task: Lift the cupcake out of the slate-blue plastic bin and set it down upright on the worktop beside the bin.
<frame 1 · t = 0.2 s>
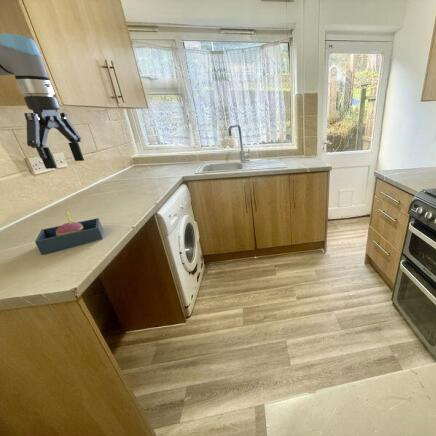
hand: (66, 164, 85), 31 cm above the countertop, tool pointing down, fingers open, 13 cm apart
cupcake: (74, 239, 99), resting on bin
bin: (75, 240, 99), on the countertop
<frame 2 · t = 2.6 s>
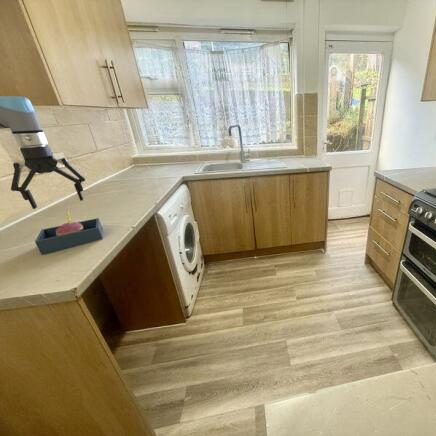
hand: (59, 203, 93), 16 cm above the countertop, tool pointing down, fingers open, 13 cm apart
nothing on the countertop moved.
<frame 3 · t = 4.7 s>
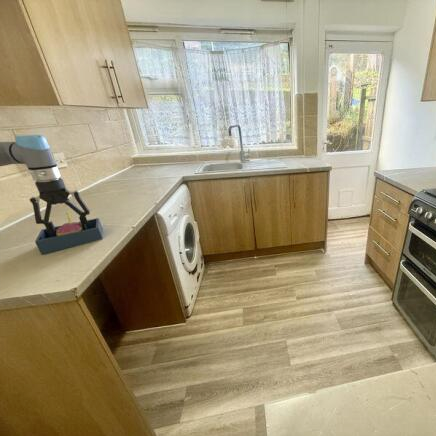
hand: (71, 234, 98), 3 cm above the countertop, tool pointing down, fingers closed on cupcake, 8 cm apart
cupcake: (75, 239, 99), resting on bin, touching gripper
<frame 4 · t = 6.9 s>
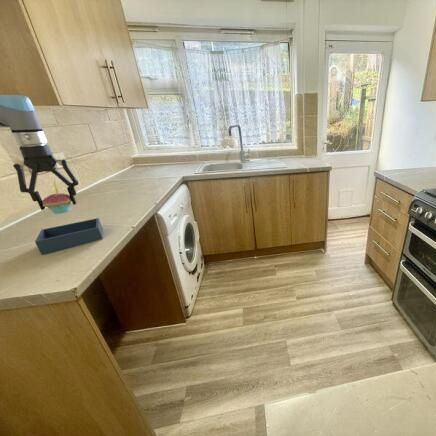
hand: (59, 206, 93), 15 cm above the countertop, tool pointing down, fingers closed on cupcake, 8 cm apart
cupcake: (62, 212, 94), point 13 cm above the countertop, touching gripper
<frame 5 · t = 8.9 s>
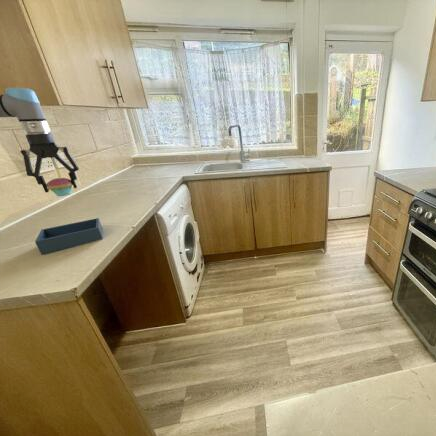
hand: (61, 189, 103), 18 cm above the countertop, tool pointing down, fingers closed on cupcake, 8 cm apart
cupcake: (64, 195, 104), point 16 cm above the countertop, touching gripper
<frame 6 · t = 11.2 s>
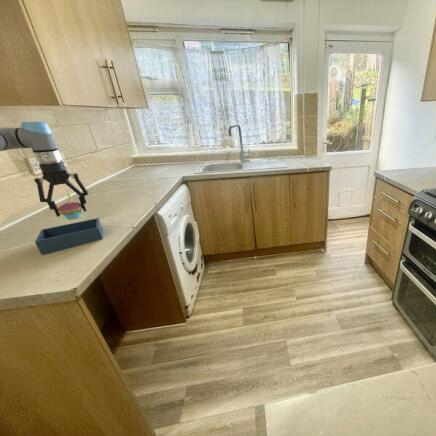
hand: (72, 213, 109), 7 cm above the countertop, tool pointing down, fingers closed on cupcake, 8 cm apart
cupcake: (75, 218, 110), point 4 cm above the countertop, touching gripper
when the fingers open (2 cm above the countertop, at t = 12.9 s): cupcake stays where it is, on the countertop.
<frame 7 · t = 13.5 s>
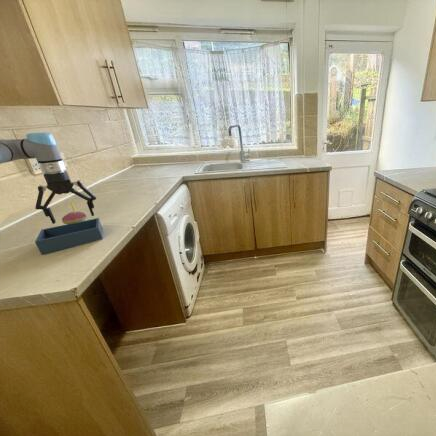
hand: (74, 218, 110), 4 cm above the countertop, tool pointing down, fingers open, 13 cm apart
cupcake: (78, 227, 112), on the countertop
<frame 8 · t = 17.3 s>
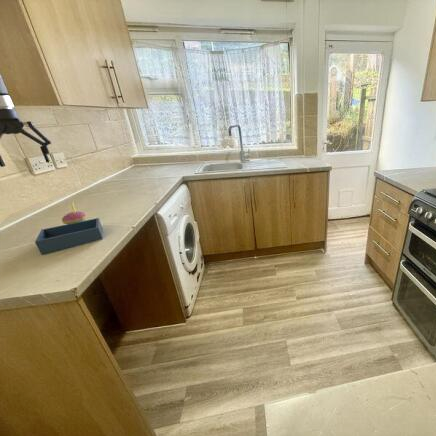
hand: (26, 164, 102), 29 cm above the countertop, tool pointing down, fingers open, 13 cm apart
nothing on the countertop moved.
at the end: cupcake inside the target area (0.2 cm from its centre), on the countertop; cupcake tilted 0°; the gripper is holding nothing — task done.
